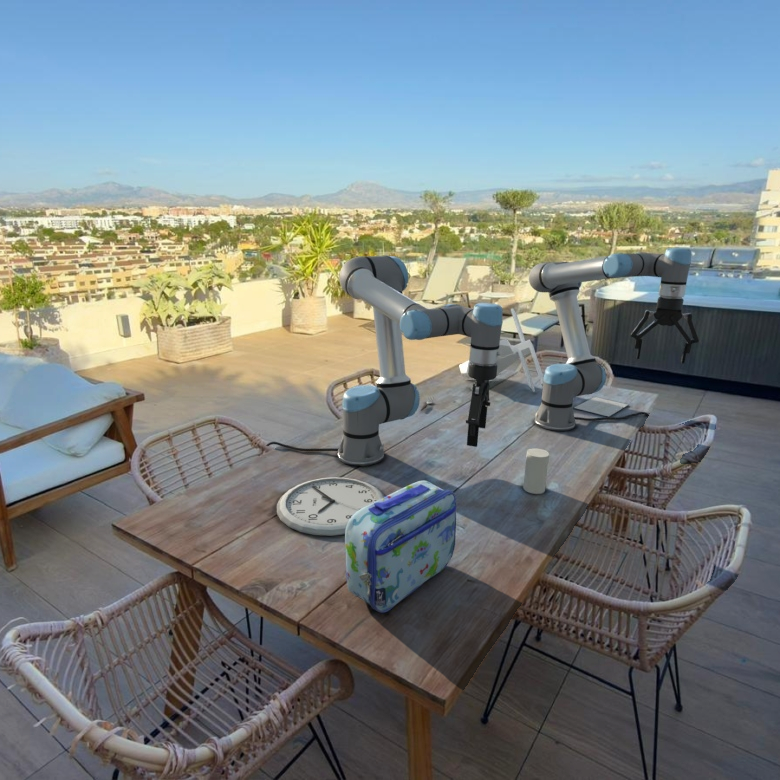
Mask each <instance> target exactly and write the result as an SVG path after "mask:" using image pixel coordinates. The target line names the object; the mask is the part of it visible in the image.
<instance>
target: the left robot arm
mask: <svg viewBox="0 0 780 780" xmlns="http://www.w3.org/2000/svg"><path fill="white" fill-rule="evenodd" d="M408 271H409V270H408V268H407V266H406V264H405V262H403V261H402V259H401V258H399V257H398V256H393V255H371V256H370V255H369V256H355V257H352V258H350V259H348V260H347V261H345V263H344V264H343V265H342V266H341V268H340V271H339V274H338V275H339V277H338V278H339V279H338V280H339V284H340V287H341V289H342V290H343V291H344V292H345V293H346V294H347V295H348V296H349V297H351V298H353V299H355V300H361V301H363V302H365V303H366V304H368V305H369V306H371V307H372V311H373V321H374V330H375V341H376V349H377V359H378V360H377V361H378V369H379V370H378V371H379V376H378V377H379V378H378V379H377V380H376V381H375V384H376V386H375V385H372V384H365V385H364V384H359V385H355V386H353V387H350V388H348V389H347V390H346V391H345V392H344V394H343V397H342V404H341V408H342V438H341V440H340V443H339V445H338V448H337V447H336V448H332V447H331V448H329V447H328V448H326V447H325V448H324V447H323V448H320V447H319V448H316V447H315V448H304V447H303V448H301V447H297V446H293V445H288V444H284V443H281V442H279V441H270V442H268V443H266V445H265V447H269V446H271V445H276V446H279V447H283V448H287V449H291V450H293V451H300V452H337V459H338V460H339V461H340V462H341V463H343V464H345V465H349V466H354V467H369V466H373V465H377V464H379V463H380V462H382V461H383V460H384V458H385V450H384V447H385V444H384V443H382V440H381V438H380V431H379V430H380V425H382V424H386V423H391V422H394V421H399V420H405V419H406V418H409V417H413V416H414V415H415V414H416V412H417V411H418V409H419V406H420V401H421V400H420V399H421V398H420V397H421V396H420V392H419V390H418V388H417V386H416V384H415V383H413V382H412V379H411V377H409V376H408V375H407V374H406V367H405V366H406V365H405V355H404V343H403V337H404V338H405V339H406V340H409V341H410V340H411V341H415V340H417V341H422V340H425V339H432V338H440V337H448V336H454V335H460V336H461V335H462V336H464V337H468V338H470V345H469V355H468V361H469V360H470V361H471V362H470V363H469V369H468V375H469V376H470V377H471V379H474V383H472V387H471V389H472V390H471V397H470V405H469V410H468V416H467V419H465V424H468V425H467V436H466V437H467V439H466V446H469V447H474V448H477V447H478V441H479V431H480V429H484V430H485V429H486V427H487V418H488V417H487V415H488V407H491V402H490V385H491V384H490V381H493V380H495V379H496V378H497V377H498V376H497V364H496V363H497V362H498V356H500V355H501V352H498V351H499V344H500V340H501V335H502V328H503V311H504V309H503V307H502V306H501V305H500V304H497V303H490V302H478V303H476V304H474V306H473V307H472V308H471V307H469V306H468V307H467V306H463V305H460V304H457V303H456V304H454V303H453V304H452V303H447V304H445V305H444V306H443V307H436V308H427V307H425V306H423V305H421V304H419V303H418V302H417V301H415V300H413V299H411V298H409V296H406V295H404V294H403V292H404V291H405V290H406V289H407V287H408V284H409V277H410V276H409V272H408Z"/></svg>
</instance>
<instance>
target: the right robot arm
mask: <svg viewBox="0 0 780 780" xmlns="http://www.w3.org/2000/svg"><path fill="white" fill-rule="evenodd" d="M692 253H693V252H692V250H691V249H690V248H683V247H681V248H680V247H668V248H666V250H665V253H656V252H655V253H653V252H643V251H642V252H635V253H623V252H618V253H612V254H610V255H606V256H600V257H593V258H589V259H581V260H577V261H576V260H575V261H571V262H569V261H557V262H556V261H555V262H553V261H551V262H540V263H537V264H535V265H534V266H533V267H532V268H531V269H530V271H529V274H528V282H529V285H530V286H531V288H532V289H533V290H534V291H536V292H539V293H548V296H549V300H551V301H552V302H554V305H555V309H556V313H557V319H558V322H559V327H560V331H561V335H562V339H563V344H564V349H565V353H566V357H567V361H566V362H565V363H554V364H551V365H548V366H547V367H546V368H545V370H544V374H543V376H544V378H543V379H544V381H543V386H542V393H541V402H540V405H539V407H538V410H537V411H535V417H534V424H535V425H536V426H537V427H539V428H542V429H544V430H549V431H556V432H567V431H572V430H574V429H575V428H576V420H577V421H578V420H579V421H584V422H591V421H592V422H595V421H615V420H616V421H621V420H626V419H629V418H631V417H636V416H640V415H644V416H645V417H650V414H649V413H648V412H645V411H639V412H635V413H630V414H627V415H625V416H618V417H617V416H615V417H614V416H609V417H608V416H604V417H593V418H592V417H591V418H590V417H588V418H587V417H580V416H575V413H574V407H573V405H574V398H576V397H581V396H586V395H593V394H595V393H598V392H600V391H601V390H602V389H603V387H604V386H605V384H606V382H607V374H606V370H605V368H604V367H603V366H602V365H601V364H598V363H597V359H596V357H595V356H593V355H592V354H591V352H590V348H589V344H588V343H589V342H588V339H587V335H586V330H585V326H584V321H583V318H582V313H581V309H580V304H579V300H578V295H579V293H580V288H581V286H582V283H586V282H593V281H601V280H610V279H619V278H620V279H621V278H632V277H633V278H634V277H635V278H636V277H653V278H660V284H659V290H658V296H659V297H658V298H657V300H656V301H657V302H656V307H655V310H654V311H651V310H649V309H646V310H645V311H644V314H643V317H642V318H641V320H640V321H639V322H638V324H637V325H636V326H635V327H634V329H633V330H632V331H631V333H630V337H631V338H633V339H635V342H634V349H636V350H637V352H636V360H640V359H641V351H642V344H643V337H644V336H646V335H647V334H648V333H649V332H650V331H651V330H653V329H654V328H655V327H657V326H658V325H660V326H663V327H664V326H668V327H674V326H675V327H676V329H677V330H678V331H679V333H680V334H681V336H682V337H683V338H684V339H685V341H686V342H683V348H682V352H681V358H680V363H681V364H685V361H686V357H687V354H690V353H691V349H692V345H693V344H697V343H699V342H700V340H699V337H698V335H697V331H696V329H695V326H694V323H693V314H692V313H691V312H687V313H683V312H682V311H683V307H684V297H685V295H686V288H687V284H688V283H687V282H688V277H689V274H690V273H689V272H690V267H691V264H692ZM652 316H653V317H654V320H653V321H652V322H651V323H650V324H648V325H647V326H646V327H645V328H644V329H643V330H641V328H642V327H643V326H644V325H645V323H646V322H647V321H648V319H650V318H651V317H652ZM681 319H684V321H686V323H687V326H688V329H689V331H690V334H691V336H692V337H691V338H690V336H689V335H688V334H687V332H686V331H685V329H684V328H683V327H682V326H681V324H680V322H679V321H680V320H681ZM640 330H641V331H640ZM639 331H640V332H639ZM638 332H639V333H638Z"/></svg>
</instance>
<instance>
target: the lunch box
mask: <svg viewBox="0 0 780 780" xmlns="http://www.w3.org/2000/svg"><path fill="white" fill-rule="evenodd" d="M456 531H457V499H456V495H455V493H454V492H453V490H450V489H442V488H440V487H439V486H437V485H435V484H433V483H432V482H430V481H428V480H418V481H416V482H413V483H410V484H409V485H406V486H405V487H402V488H400V489H398V490H396V491H394V492H392V493H390V494H388V495H385V497H384V498H382V499H380V500H378V501H376V502H374V503H372V504H370V505H368V506H366V507H364V508H362V509H360V510H358V511H357V512H355V513H354V514H353V515H352V517H351V518H350V520H349V522H348V524H347V527H346V531H345V534H344V552H345V577H346V578H345V580H346V586H347V589H348V592H349V593H350V594H352V595H354V596H356V597H357V598H359V599H361V600H363V602H365V603H367V604H368V605H370V607H371V608H372V609H373V610H375V611H376V612H378V613H380V614H382V613H383V614H385V613H387V612H389V611H391V609H393V608H394V607H395V606H396V605H397V604H400V602H401V601H402V600H404V599H406V597H409V596H410V595H411V594H412V593H414V592H415V591H416V590H417V589H418V588H420V587H421V586H422V585H423V584H424V583H425V582H427V581H428V580H430V579H432V578H433V577H434V576H436V575H437V574H439V573H441V572H442V571H443V570H445V568H446V567H447V566H448V564H449V563H450V561H451V560H452V557H453V554H454V551H455V548H456V547H455V546H456Z"/></svg>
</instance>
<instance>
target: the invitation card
mask: <svg viewBox="0 0 780 780" xmlns="http://www.w3.org/2000/svg"><path fill="white" fill-rule="evenodd" d="M628 406H629V404H627V403H623V402H618V401H614V400H609V399H605V398H601V397H596V396H593V397H592V398H590V399H588V400H586V401H584V402H582V403H580V404H578V405H575V406H574V407H573V409H575V410H581V411H584V412H587V413H593V414H596V415H600V416H604V417H612V416H613V415H614V414H616V413H617V412H619V411H621V410H623V409H624V408H626V407H628Z"/></svg>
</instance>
